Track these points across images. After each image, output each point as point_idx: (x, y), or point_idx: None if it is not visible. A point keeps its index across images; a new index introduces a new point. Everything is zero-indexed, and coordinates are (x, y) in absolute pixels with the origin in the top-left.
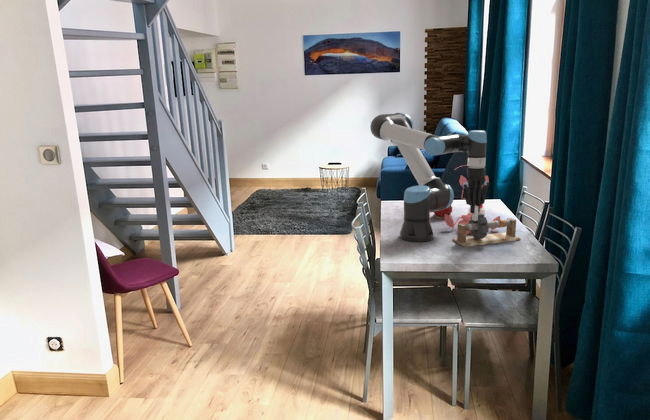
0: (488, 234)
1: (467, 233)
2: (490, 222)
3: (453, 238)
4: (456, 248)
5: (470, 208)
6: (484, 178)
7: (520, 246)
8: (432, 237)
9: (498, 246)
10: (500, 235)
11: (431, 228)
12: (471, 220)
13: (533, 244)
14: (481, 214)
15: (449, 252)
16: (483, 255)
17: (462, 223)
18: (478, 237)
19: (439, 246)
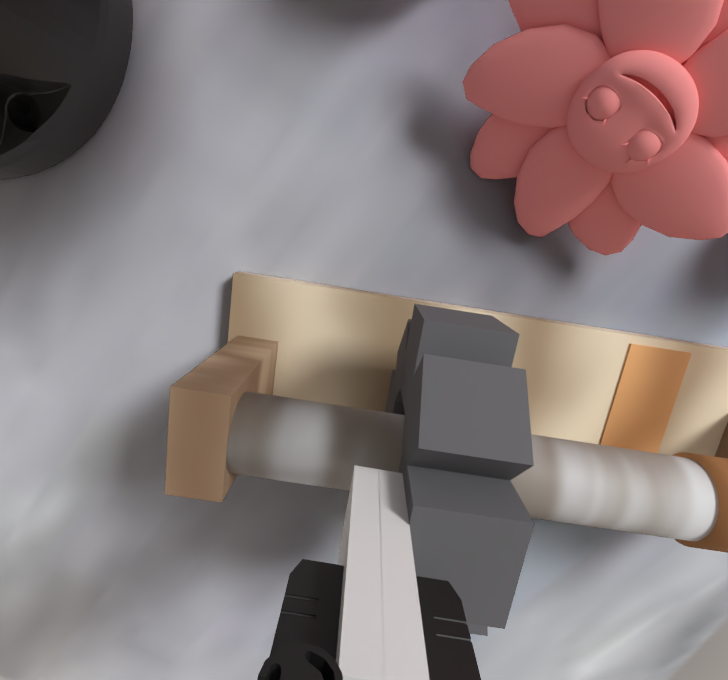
0: (601, 338)
1: (487, 176)
2: (585, 520)
3: (239, 276)
4: (149, 450)
5: (275, 635)
6: None
7: (582, 623)
8: (73, 141)
9: None
10: (656, 418)
11: (8, 74)
12: (413, 384)
13: (694, 633)
14: (477, 602)
15: (52, 495)
16: (229, 639)
17: (531, 38)
18: None
19: (51, 347)
